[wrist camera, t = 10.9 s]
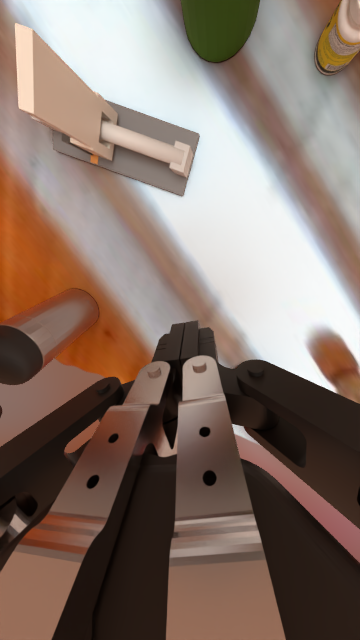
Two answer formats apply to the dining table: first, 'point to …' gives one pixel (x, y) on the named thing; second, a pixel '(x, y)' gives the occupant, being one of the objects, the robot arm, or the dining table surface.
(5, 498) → the robot arm
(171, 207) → the dining table surface
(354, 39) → the supplement bottle
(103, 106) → the peach lever handle
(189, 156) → the pipe stand
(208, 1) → the wine bottle
